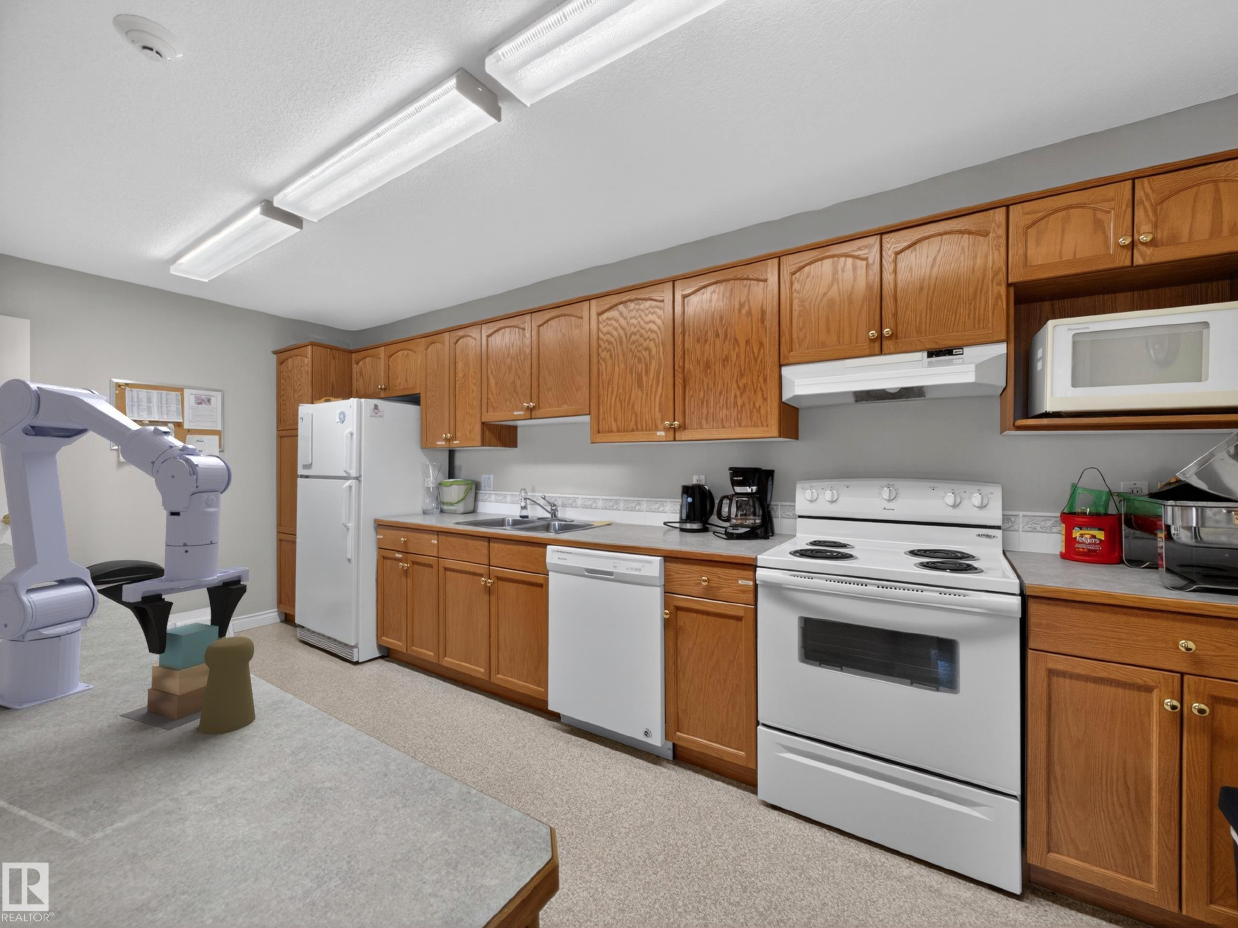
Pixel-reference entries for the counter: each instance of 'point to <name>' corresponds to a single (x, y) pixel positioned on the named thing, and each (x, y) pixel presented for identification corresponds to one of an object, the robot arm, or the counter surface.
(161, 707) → the walnut base block
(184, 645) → the teal block
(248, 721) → the cork
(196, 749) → the counter surface
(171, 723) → the coaster mat
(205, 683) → the oak top block
